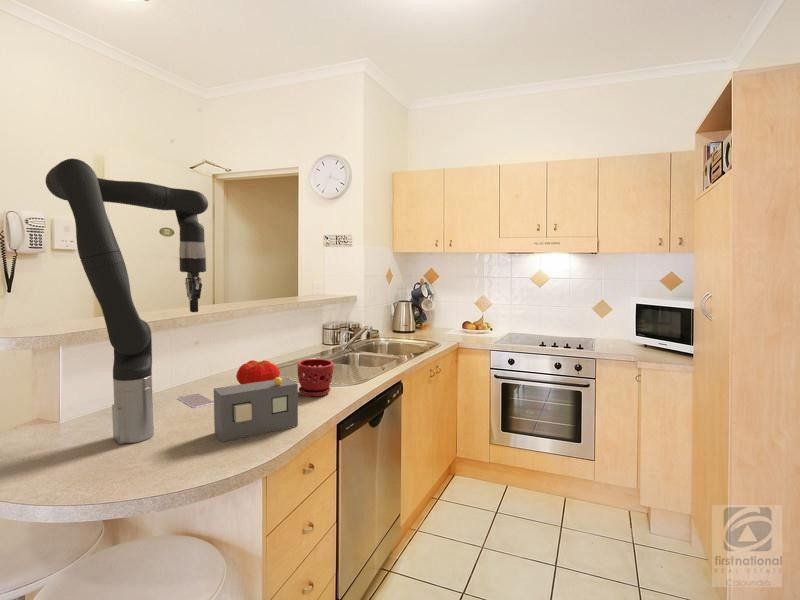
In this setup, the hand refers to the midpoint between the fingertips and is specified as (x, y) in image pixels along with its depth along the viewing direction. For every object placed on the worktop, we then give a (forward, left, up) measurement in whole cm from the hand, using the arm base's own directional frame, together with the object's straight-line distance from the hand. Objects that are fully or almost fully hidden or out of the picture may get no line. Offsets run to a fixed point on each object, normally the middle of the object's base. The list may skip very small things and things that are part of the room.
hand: (194, 311), depth 145 cm
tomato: (+30, +16, -33) cm, 48 cm away
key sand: (+1, -28, -28) cm, 40 cm away
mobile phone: (+5, +14, -34) cm, 37 cm away
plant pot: (+41, -7, -33) cm, 53 cm away
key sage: (+13, -28, -28) cm, 41 cm away
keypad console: (+8, -26, -33) cm, 42 cm away
